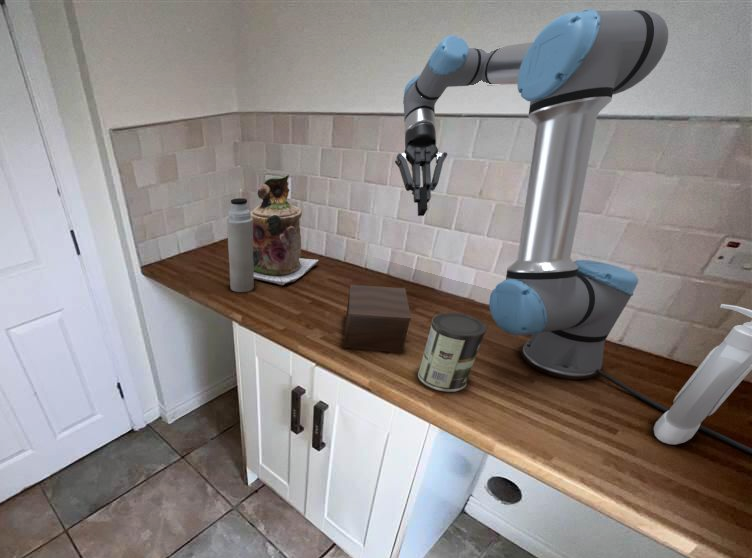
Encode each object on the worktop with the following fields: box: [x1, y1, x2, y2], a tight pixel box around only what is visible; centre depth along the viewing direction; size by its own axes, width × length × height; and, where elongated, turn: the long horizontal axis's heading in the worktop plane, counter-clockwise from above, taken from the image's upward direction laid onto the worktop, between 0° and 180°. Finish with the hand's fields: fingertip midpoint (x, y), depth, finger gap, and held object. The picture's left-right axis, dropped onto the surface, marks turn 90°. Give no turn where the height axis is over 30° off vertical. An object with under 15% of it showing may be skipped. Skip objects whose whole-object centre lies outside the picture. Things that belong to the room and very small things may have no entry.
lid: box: [348, 284, 412, 322], centre depth 103 cm, size 18×14×1 cm
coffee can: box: [417, 312, 488, 393], centre depth 88 cm, size 10×10×14 cm
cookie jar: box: [250, 174, 319, 286], centre depth 140 cm, size 25×25×32 cm
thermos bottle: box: [226, 197, 255, 293], centre depth 129 cm, size 8×8×28 cm
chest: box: [343, 290, 411, 354], centre depth 106 cm, size 17×14×9 cm
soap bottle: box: [653, 303, 752, 445], centre depth 69 cm, size 13×8×24 cm, turn 124°
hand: (422, 212), depth 103 cm, fingers closed
